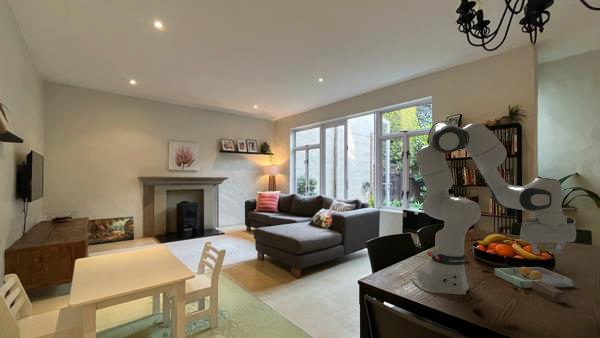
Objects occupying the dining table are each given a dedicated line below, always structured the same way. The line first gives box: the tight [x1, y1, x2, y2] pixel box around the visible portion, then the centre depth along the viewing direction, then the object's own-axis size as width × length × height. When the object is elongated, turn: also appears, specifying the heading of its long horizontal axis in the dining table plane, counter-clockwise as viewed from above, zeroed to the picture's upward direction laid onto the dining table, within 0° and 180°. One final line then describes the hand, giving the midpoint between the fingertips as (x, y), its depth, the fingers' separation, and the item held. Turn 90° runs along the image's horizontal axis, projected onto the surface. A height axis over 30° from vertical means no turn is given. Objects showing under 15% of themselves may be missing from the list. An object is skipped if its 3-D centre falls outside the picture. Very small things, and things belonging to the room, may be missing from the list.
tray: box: [493, 267, 538, 289], centre depth 118 cm, size 8×14×3 cm, turn 3°
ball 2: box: [530, 271, 542, 280], centre depth 117 cm, size 4×4×4 cm
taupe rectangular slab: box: [531, 281, 565, 304], centre depth 103 cm, size 4×10×4 cm, turn 177°
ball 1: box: [519, 266, 531, 276], centre depth 121 cm, size 4×4×4 cm
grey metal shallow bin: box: [510, 266, 574, 288], centre depth 119 cm, size 15×14×3 cm
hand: (547, 252), depth 103 cm, fingers open, 8 cm apart
